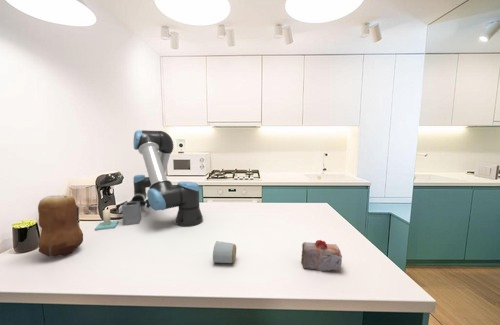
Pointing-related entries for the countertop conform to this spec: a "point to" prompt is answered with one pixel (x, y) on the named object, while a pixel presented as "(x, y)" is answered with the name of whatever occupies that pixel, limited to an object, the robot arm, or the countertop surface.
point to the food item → (321, 256)
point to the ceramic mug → (224, 252)
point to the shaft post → (106, 221)
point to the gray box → (131, 213)
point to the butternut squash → (58, 226)
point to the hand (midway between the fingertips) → (132, 209)
